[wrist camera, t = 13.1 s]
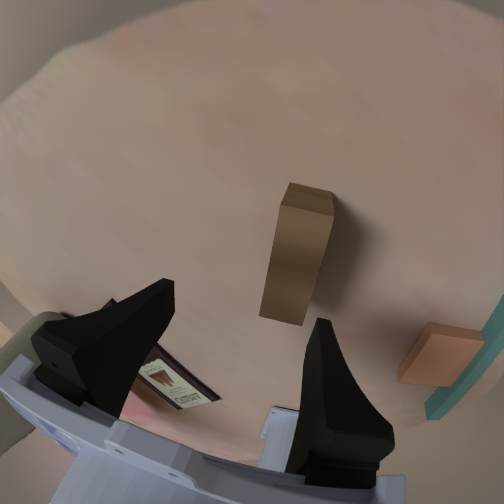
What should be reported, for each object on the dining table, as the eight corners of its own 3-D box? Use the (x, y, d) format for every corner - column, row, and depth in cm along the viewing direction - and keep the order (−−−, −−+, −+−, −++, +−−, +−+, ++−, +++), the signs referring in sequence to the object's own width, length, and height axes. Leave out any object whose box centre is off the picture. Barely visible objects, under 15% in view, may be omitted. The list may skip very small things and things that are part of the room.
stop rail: (436, 404, 27) (439, 419, 25) (424, 403, 28) (427, 419, 25) (529, 270, 17) (542, 284, 15) (518, 265, 18) (530, 280, 16)
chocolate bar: (109, 300, 30) (218, 399, 34) (114, 295, 30) (220, 394, 34) (83, 326, 34) (178, 409, 38) (87, 322, 34) (180, 405, 39)
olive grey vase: (99, 327, 34) (-21, 489, 9) (94, 362, 39) (3, 493, 15) (46, 285, 33) (-79, 420, 9) (48, 326, 38) (-48, 442, 14)
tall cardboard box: (307, 285, 24) (301, 326, 19) (271, 277, 24) (258, 315, 20) (332, 191, 20) (334, 216, 15) (290, 182, 20) (280, 204, 16)
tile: (446, 373, 25) (450, 387, 24) (396, 368, 26) (398, 382, 25) (479, 328, 22) (485, 341, 20) (427, 318, 23) (432, 333, 21)
